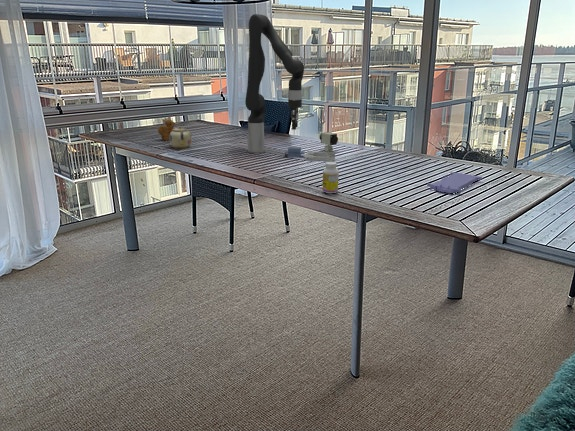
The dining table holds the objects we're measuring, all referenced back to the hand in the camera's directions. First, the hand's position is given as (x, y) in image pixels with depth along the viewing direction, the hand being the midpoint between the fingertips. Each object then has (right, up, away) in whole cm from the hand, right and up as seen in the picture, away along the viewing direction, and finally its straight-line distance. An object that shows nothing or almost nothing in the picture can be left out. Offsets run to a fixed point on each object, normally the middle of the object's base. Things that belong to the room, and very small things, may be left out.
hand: (294, 128), depth 261 cm
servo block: (0, -15, +5) cm, 16 cm away
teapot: (-70, -7, +28) cm, 75 cm away
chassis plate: (+15, -17, +1) cm, 22 cm away
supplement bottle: (+14, -39, -62) cm, 75 cm away
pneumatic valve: (+21, -11, +18) cm, 30 cm away
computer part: (+71, -36, -51) cm, 95 cm away
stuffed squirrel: (-83, +1, +51) cm, 98 cm away
